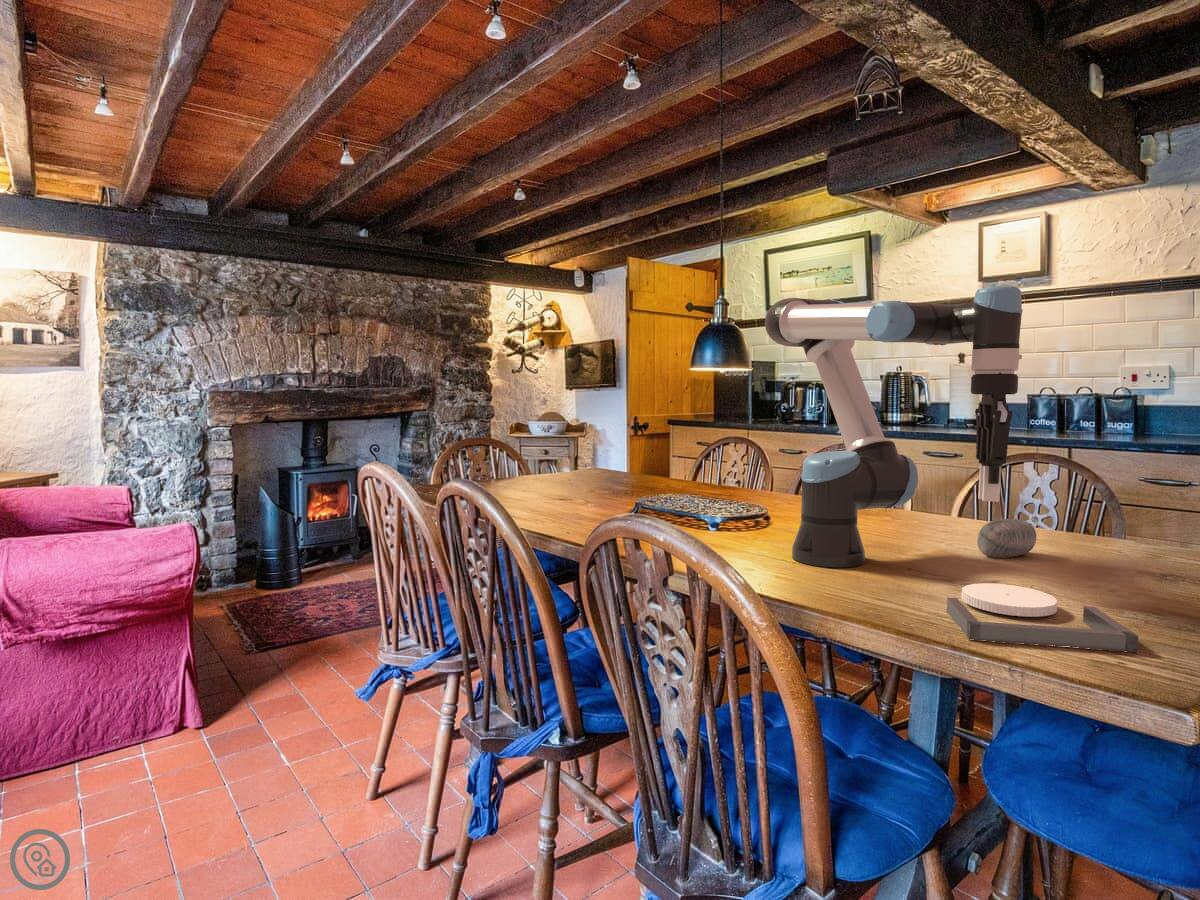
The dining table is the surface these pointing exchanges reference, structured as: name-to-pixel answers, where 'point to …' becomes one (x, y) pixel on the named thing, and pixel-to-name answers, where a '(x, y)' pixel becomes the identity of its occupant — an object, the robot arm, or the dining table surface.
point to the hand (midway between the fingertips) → (988, 499)
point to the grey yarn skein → (1006, 538)
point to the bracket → (1049, 631)
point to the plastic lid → (1009, 599)
